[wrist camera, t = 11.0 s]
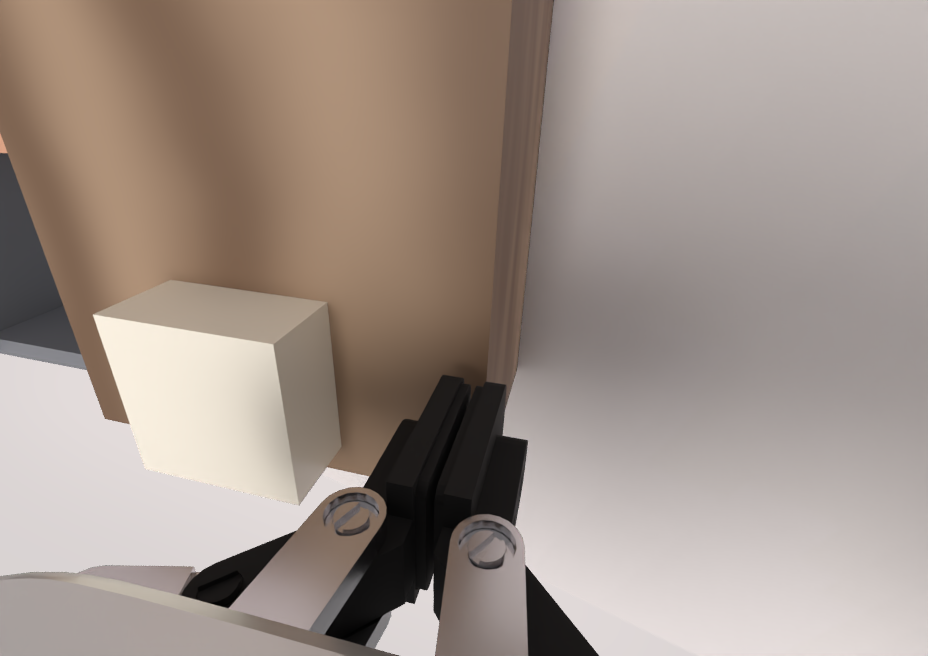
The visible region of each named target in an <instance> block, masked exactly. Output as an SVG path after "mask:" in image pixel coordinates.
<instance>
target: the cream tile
mask: <svg viewBox="0 0 928 656" xmlns="http://www.w3.org/2000/svg"><path fill="white" fill-rule="evenodd" d="M93 317H94V320H95V323H96V326H97V329H98V332H99V334H100V337H101V340H102V343H103V346H104V349H105V352H106V355H107V358H108V361H109V364H110V367H111V370H112V373H113V376H114V379H115V382H116V384H117V387H118V390H119V393H120V396H121V399H122V402H123V405H124V408H125V411H126V414H127V417H128V420H129V423H130V425H131V429H132V432H133V434H134V437H135V440H136V443H137V446H138V449H139V452H140V455H141V458H142V461H143V464H144V467H145V469H147V470H152V471H156V472H160V473H164V474H168V475H173V476H177V477H181V478H185V479H189V480H194V481H198V482H202V483H206V484H210V485H215V486H219V487H223V488H228V489H232V490H236V491H240V492H244V493H248V494H253V495H257V496H261V497H265V498H269V499H274V500H278V501H282V502H286V503H291V504H294V505H300V504H301V502H302V501H303V499H304V498H305V497H306V495H307V494H308V492H309V491H310V490H311V488H312V487H313V486H314V484H315V483H316V481H317V480H318V479H319V477H320V476H321V474H322V473H323V472H324V470H325V469H326V468H327V466H328V465H329V463H330V462H331V461H332V459H333V458H334V456H335V455H336V454H337V452H338V451H339V449H340V448H341V436H340V426H339V416H338V406H337V396H336V386H335V376H334V365H333V355H332V345H331V335H330V325H329V315H328V305H327V302H323V301H316V300H309V299H302V298H295V297H288V296H281V295H274V294H267V293H260V292H253V291H246V290H238V289H231V288H224V287H217V286H210V285H203V284H196V283H189V282H182V281H175V280H169V281H167V282H165V283H162V284H160V285H158V286H156V287H153V288H151V289H149V290H147V291H144V292H142V293H140V294H138V295H135V296H133V297H131V298H129V299H126V300H124V301H122V302H120V303H117V304H115V305H113V306H111V307H108V308H106V309H104V310H102V311H99V312H97V313H95V314H93Z"/></svg>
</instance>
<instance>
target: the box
mask: <svg viewBox="0 0 928 656" xmlns="http://www.w3.org/2000/svg"><path fill="white" fill-rule="evenodd" d="M0 353H2V354H7V355H13V356H17V357H22V358H27V359H33V360H38V361H43V362H48V363H53V364H58V365H63V366H69V367H74V368H79V369H85V370H87V368H86V366H85V363H84V360H83V357H82V355H81V352H80V349H79V347H78V344H77V341H76V338H75V336H74V333H73V330H72V327H71V325H70V322H69V319H68V316H67V314H66V311H65V308H64V306H63V303H62V300H61V297H60V295H59V292H58V289H57V286H56V284H55V281H54V278H53V276H52V273H51V270H50V267H49V265H48V262H47V259H46V256H45V254H44V251H43V248H42V246H41V243H40V240H39V237H38V235H37V232H36V229H35V226H34V224H33V221H32V218H31V216H30V213H29V210H28V207H27V205H26V202H25V199H24V196H23V194H22V191H21V188H20V186H19V183H18V180H17V177H16V175H15V172H14V169H13V166H12V164H11V161H10V158H9V156H8V153H0Z"/></svg>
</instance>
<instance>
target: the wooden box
mask: <svg viewBox="0 0 928 656" xmlns="http://www.w3.org/2000/svg"><path fill="white" fill-rule="evenodd" d="M553 2H554V0H0V134H1V136H2V139H3V142H4V145H5V147H6V150H7V153H8V156H9V158H10V161H11V164H12V166H13V169H14V172H15V175H16V177H17V180H18V183H19V186H20V188H21V191H22V194H23V196H24V199H25V202H26V205H27V207H28V210H29V213H30V216H31V218H32V221H33V224H34V226H35V229H36V232H37V235H38V237H39V240H40V243H41V246H42V248H43V251H44V254H45V256H46V259H47V262H48V265H49V267H50V270H51V273H52V276H53V278H54V281H55V284H56V286H57V289H58V292H59V295H60V297H61V300H62V303H63V306H64V308H65V311H66V314H67V316H68V319H69V322H70V325H71V327H72V330H73V333H74V336H75V338H76V341H77V344H78V347H79V349H80V352H81V355H82V357H83V360H84V363H85V366H86V368H87V371H88V374H89V376H90V379H91V382H92V385H93V387H94V390H95V393H96V396H97V398H98V401H99V404H100V407H101V409H102V412H103V415H104V417H105V419H108V420H113V421H118V422H122V423H127V424H130V423H129V420H128V417H127V414H126V411H125V408H124V405H123V402H122V399H121V396H120V393H119V390H118V387H117V384H116V382H115V379H114V376H113V373H112V370H111V367H110V364H109V361H108V358H107V355H106V352H105V349H104V346H103V343H102V340H101V337H100V334H99V332H98V329H97V326H96V323H95V320H94V317H93V314H95V313H97V312H99V311H102V310H104V309H106V308H108V307H111V306H113V305H115V304H117V303H120V302H122V301H124V300H126V299H129V298H131V297H133V296H135V295H138V294H140V293H142V292H144V291H147V290H149V289H151V288H153V287H156V286H158V285H160V284H162V283H165V282H167V281H169V280H175V281H182V282H189V283H196V284H203V285H210V286H217V287H224V288H231V289H238V290H246V291H253V292H260V293H267V294H274V295H281V296H288V297H295V298H302V299H309V300H316V301H323V302H327V305H328V315H329V325H330V335H331V345H332V355H333V365H334V376H335V386H336V396H337V406H338V416H339V426H340V436H341V448H340V449H339V451H338V452H337V454H336V455H335V456H334V458H333V459H332V461H331V462H330V463H329V465H328V466H327V467H329V468H334V469H338V470H343V471H348V472H352V473H357V474H361V475H366V476H370V475H371V473H372V472H373V470H374V468H375V466H376V465H377V463H378V461H379V459H380V458H381V456H382V454H383V452H384V451H385V449H386V447H387V446H388V444H389V442H390V440H391V439H392V437H393V435H394V433H395V432H396V430H397V428H398V426H399V425H400V423H401V422H402V420H403V419H411V420H416V421H418V420H419V418H420V416H421V414H422V412H423V410H424V409H425V407H426V405H427V403H428V401H429V399H430V397H431V395H432V393H433V391H434V390H435V388H436V386H437V384H438V382H439V380H440V378H441V376H442V375H448V376H455V377H461V378H464V384H470V385H471V398H472V395H473V393H474V390H475V388H476V386H482V387H483V386H484V383H485V382H493V383H499V384H505V385H506V386H507V389H506V401H505V408H506V404H507V401H508V398H509V394H510V391H511V387H512V384H513V381H514V377H515V374H516V370H517V363H518V353H519V343H520V333H521V323H522V313H523V303H524V293H525V283H526V273H527V263H528V253H529V243H530V233H531V223H532V213H533V203H534V192H535V182H536V172H537V162H538V152H539V142H540V132H541V122H542V112H543V102H544V92H545V82H546V72H547V62H548V52H549V42H550V32H551V22H552V12H553Z"/></svg>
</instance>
